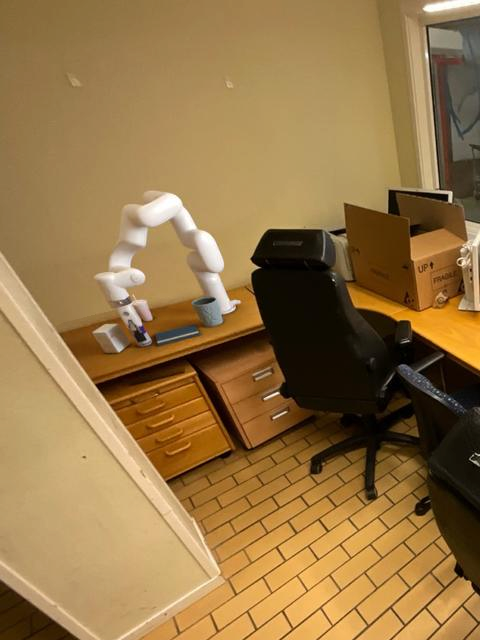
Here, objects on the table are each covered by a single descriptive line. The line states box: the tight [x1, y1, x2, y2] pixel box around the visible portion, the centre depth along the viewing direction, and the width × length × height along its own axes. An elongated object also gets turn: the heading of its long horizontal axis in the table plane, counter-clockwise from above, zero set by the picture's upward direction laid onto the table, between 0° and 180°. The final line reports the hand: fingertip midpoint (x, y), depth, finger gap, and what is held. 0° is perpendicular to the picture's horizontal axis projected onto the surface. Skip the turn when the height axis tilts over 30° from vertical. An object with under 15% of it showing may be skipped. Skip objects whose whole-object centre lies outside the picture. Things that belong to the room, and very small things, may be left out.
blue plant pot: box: [191, 296, 224, 328], centre depth 192 cm, size 10×10×12 cm
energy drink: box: [123, 322, 153, 348], centre depth 175 cm, size 5×5×12 cm
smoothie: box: [131, 293, 154, 322], centre depth 193 cm, size 6×6×14 cm
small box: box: [91, 323, 131, 354], centre depth 172 cm, size 8×6×10 cm
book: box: [154, 323, 201, 347], centre depth 185 cm, size 16×12×1 cm
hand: (141, 338), depth 177 cm, fingers closed on energy drink, 5 cm apart
